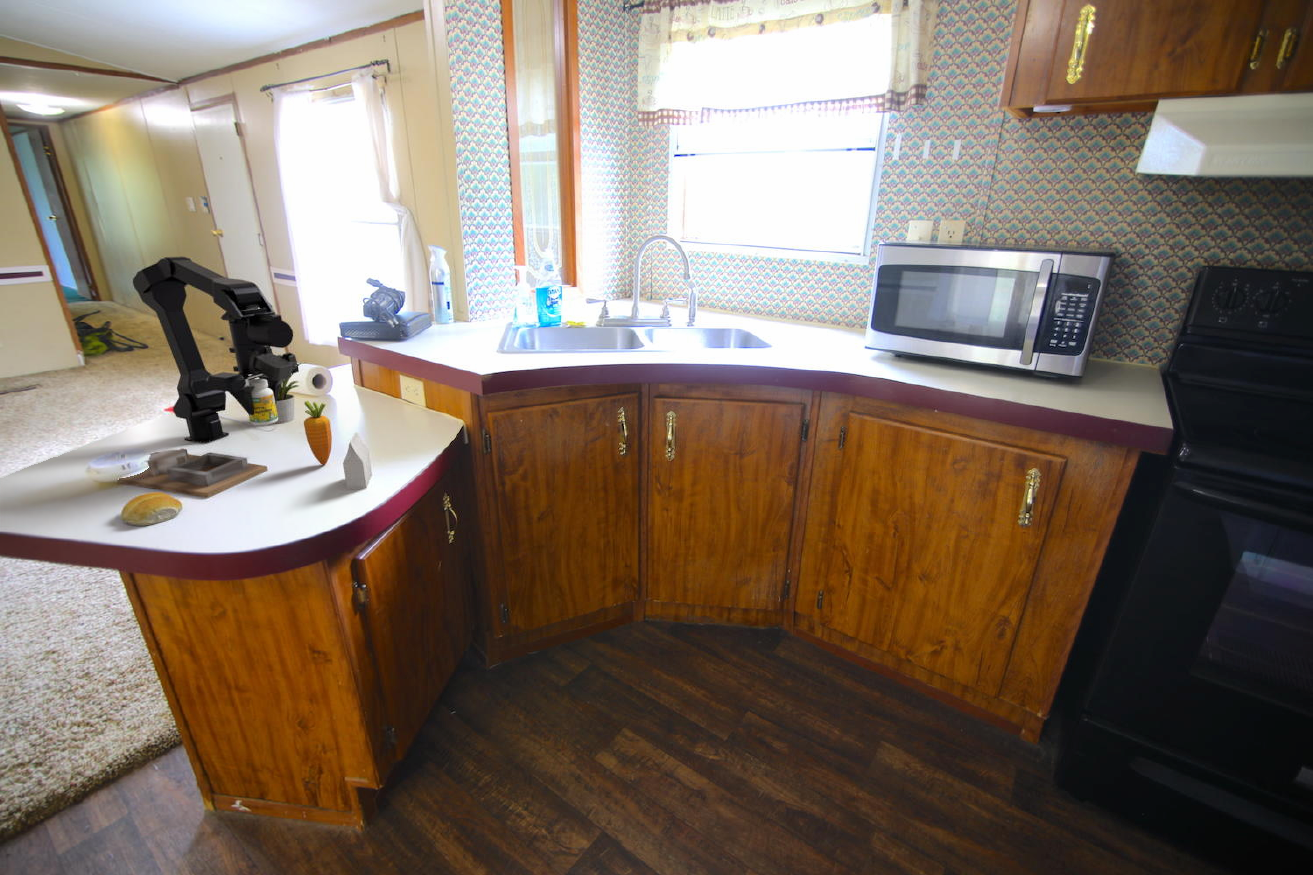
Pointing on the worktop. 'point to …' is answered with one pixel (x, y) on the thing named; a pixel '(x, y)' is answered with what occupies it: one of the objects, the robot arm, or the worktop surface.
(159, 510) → the bread roll
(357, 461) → the gray house shaped block
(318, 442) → the carrot
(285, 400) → the house plant
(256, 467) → the carrier plate
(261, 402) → the supplement bottle
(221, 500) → the worktop surface
